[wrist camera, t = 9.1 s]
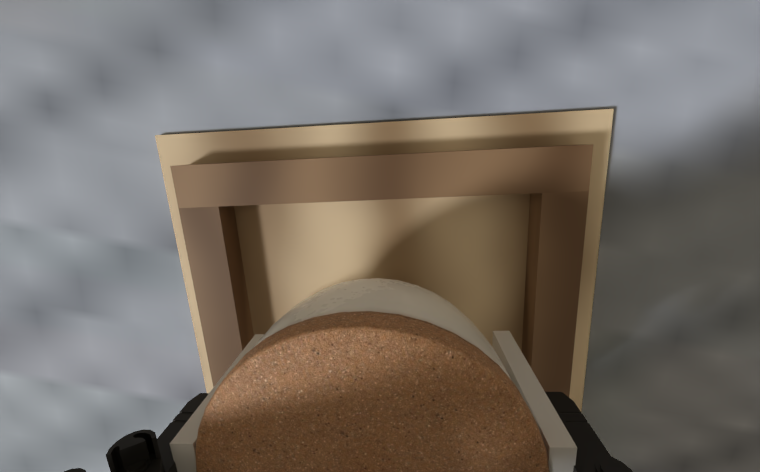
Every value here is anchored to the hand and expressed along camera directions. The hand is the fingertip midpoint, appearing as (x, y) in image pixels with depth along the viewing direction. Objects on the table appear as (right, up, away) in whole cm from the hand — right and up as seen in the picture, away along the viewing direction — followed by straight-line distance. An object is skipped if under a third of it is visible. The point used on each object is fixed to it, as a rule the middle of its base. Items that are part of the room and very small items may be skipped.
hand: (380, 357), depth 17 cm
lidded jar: (0, 0, +1) cm, 1 cm away
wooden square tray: (0, +1, +3) cm, 3 cm away
